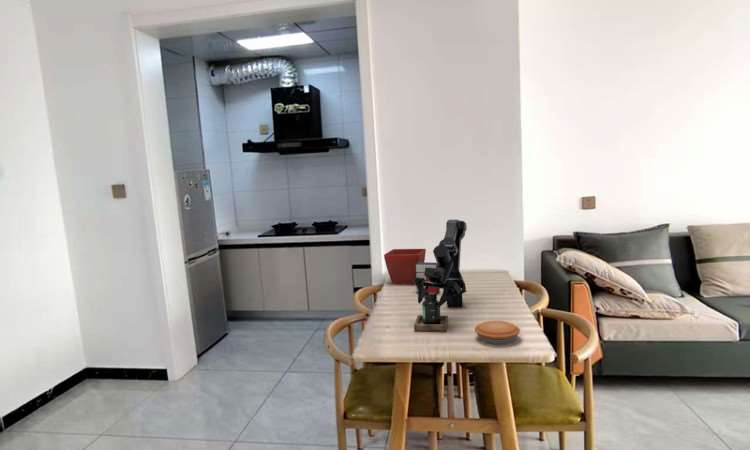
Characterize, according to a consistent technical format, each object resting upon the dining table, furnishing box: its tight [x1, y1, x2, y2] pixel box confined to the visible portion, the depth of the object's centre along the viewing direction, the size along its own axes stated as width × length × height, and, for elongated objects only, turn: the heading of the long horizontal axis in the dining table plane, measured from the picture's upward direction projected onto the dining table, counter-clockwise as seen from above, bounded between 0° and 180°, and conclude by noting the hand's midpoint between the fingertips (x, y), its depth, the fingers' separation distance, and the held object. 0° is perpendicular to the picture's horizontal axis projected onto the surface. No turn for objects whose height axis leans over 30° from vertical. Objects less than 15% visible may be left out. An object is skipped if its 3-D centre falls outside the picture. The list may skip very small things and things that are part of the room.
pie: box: [474, 320, 521, 346], centre depth 164 cm, size 15×16×5 cm
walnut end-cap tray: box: [413, 314, 449, 333], centre depth 181 cm, size 12×12×2 cm
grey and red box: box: [415, 261, 441, 295], centre depth 229 cm, size 11×4×15 cm, turn 68°
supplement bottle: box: [421, 293, 441, 325], centre depth 180 cm, size 7×7×12 cm
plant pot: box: [383, 248, 427, 285], centre depth 255 cm, size 19×19×17 cm
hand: (428, 304), depth 179 cm, fingers open, 9 cm apart
